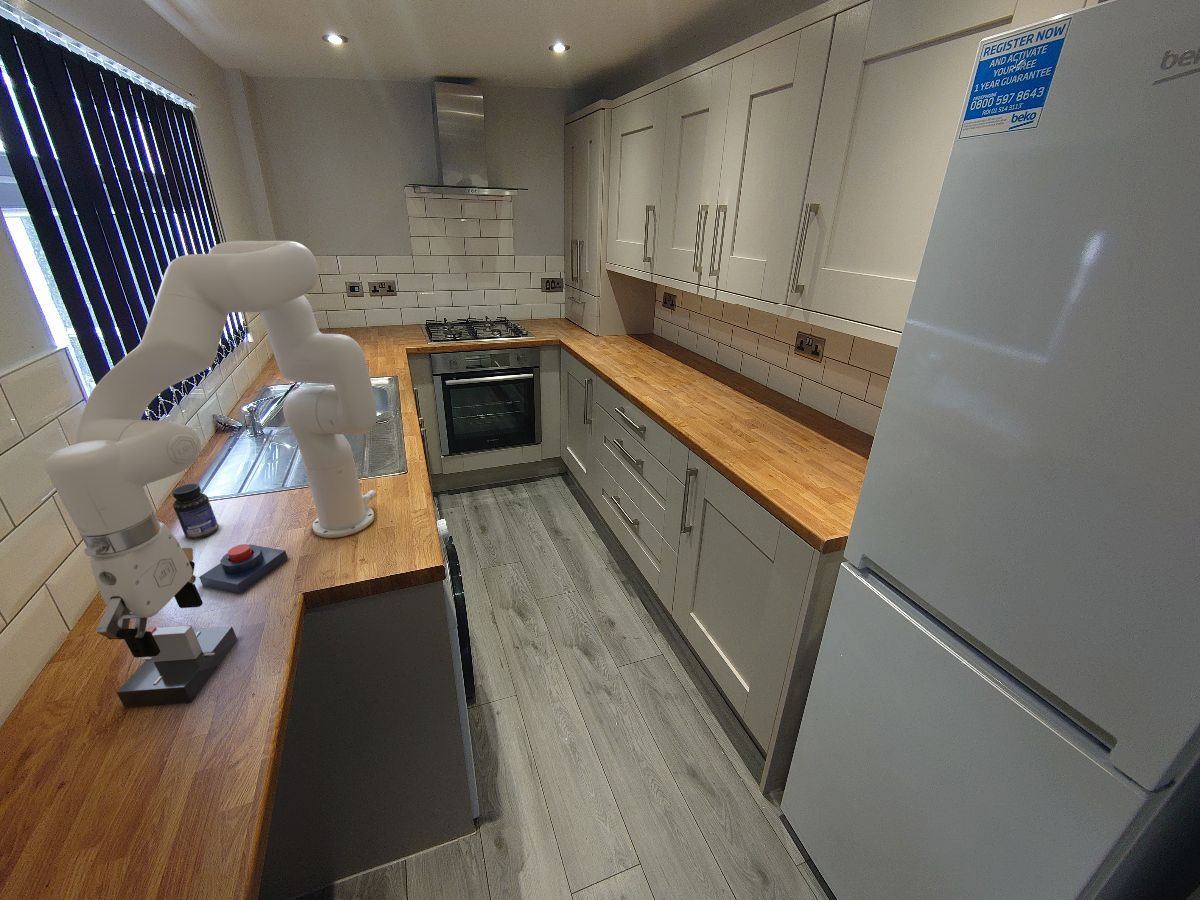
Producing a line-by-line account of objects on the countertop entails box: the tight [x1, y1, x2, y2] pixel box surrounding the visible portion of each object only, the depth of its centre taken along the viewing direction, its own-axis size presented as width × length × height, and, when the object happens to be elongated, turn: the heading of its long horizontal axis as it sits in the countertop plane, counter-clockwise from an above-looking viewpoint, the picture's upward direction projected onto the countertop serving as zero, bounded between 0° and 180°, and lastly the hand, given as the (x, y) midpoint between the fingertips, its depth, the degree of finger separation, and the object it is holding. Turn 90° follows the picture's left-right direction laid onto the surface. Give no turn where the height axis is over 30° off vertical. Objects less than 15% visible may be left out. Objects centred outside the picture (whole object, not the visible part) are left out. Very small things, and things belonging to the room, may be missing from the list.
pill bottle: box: [171, 483, 220, 540], centre depth 113 cm, size 6×6×11 cm
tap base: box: [116, 625, 238, 709], centre depth 79 cm, size 12×10×3 cm
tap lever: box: [145, 625, 202, 662], centre depth 77 cm, size 6×2×5 cm, turn 95°
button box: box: [198, 543, 289, 595], centre depth 101 cm, size 11×9×4 cm
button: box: [227, 543, 252, 562], centre depth 100 cm, size 4×4×2 cm
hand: (171, 629), depth 77 cm, fingers open, 9 cm apart
